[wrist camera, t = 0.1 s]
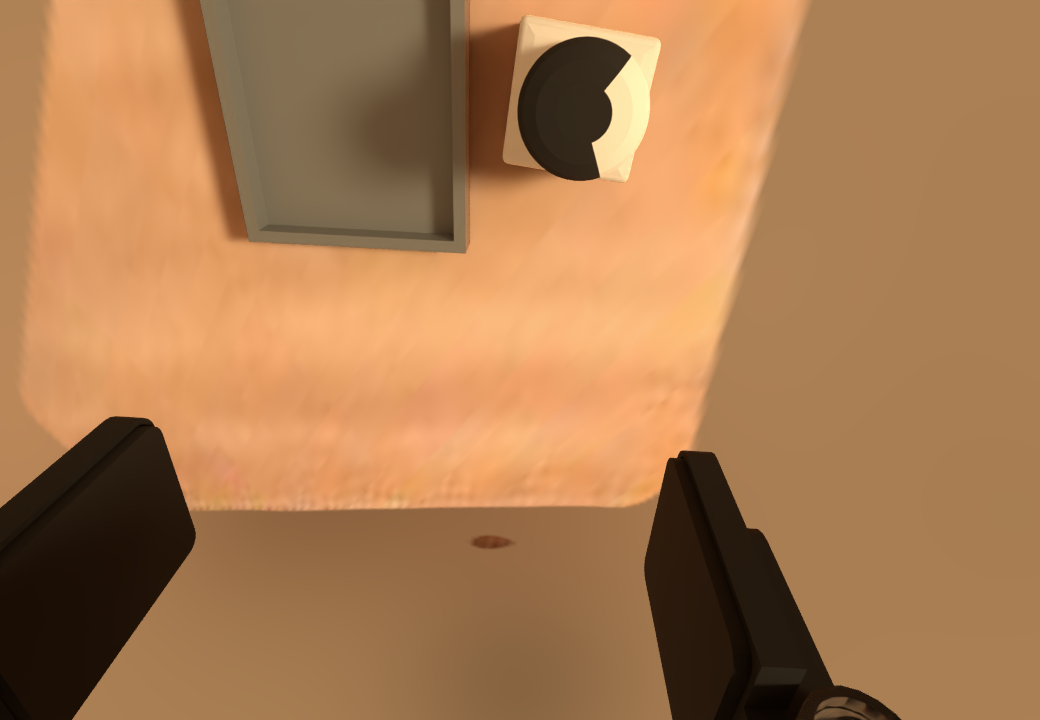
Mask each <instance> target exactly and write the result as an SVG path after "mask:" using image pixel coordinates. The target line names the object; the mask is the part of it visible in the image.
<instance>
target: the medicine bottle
mask: <svg viewBox="0 0 1040 720" xmlns="http://www.w3.org/2000/svg"><path fill="white" fill-rule="evenodd" d="M660 48H661V43H660V41H659V39H657V38H655V37H650V36H644V35H639V34H633V33H628V32H622V31H617V30H611V29H606V28H600V27H595V26H589V25H584V24H578V23H573V22H568V21H562V20H557V19H551V18H546V17H540V16H535V15H524V16H523V17H522V19H521V21H520V28H519V35H518V43H517V50H516V58H515V65H514V73H513V80H512V88H511V96H510V103H509V111H508V118H507V126H506V133H505V141H504V148H503V160H504V162H505V163H507V164H512V165H518V166H524V167H529V168H535V169H541V170H547V171H548V172H550V173H551V174H553V175H556V176H558V177H561V178H564V179H568V180H574V181H586V180H593V179H600V180H606V181H612V182H618V183H624V182H625V181H627V179H628V177H629V174H630V169H631V165H632V161H633V157H634V153H635V150H636V149H637V147H638V146H639V144H640V142H641V141H642V138H643V136H644V133H645V131H646V127H647V124H648V119H649V113H650V98H649V92H650V88H651V84H652V80H653V76H654V72H655V68H656V64H657V60H658V56H659V52H660Z"/></svg>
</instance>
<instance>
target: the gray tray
mask: <svg viewBox="0 0 1040 720" xmlns="http://www.w3.org/2000/svg"><path fill="white" fill-rule="evenodd" d="M200 5H201V9H202V14H203V19H204V24H205V29H206V34H207V39H208V44H209V49H210V53H211V58H212V63H213V68H214V73H215V78H216V83H217V88H218V92H219V97H220V102H221V107H222V112H223V117H224V122H225V127H226V132H227V136H228V141H229V146H230V151H231V156H232V161H233V166H234V171H235V175H236V180H237V185H238V190H239V195H240V200H241V205H242V210H243V215H244V219H245V224H246V229H247V234H248V239H249V242H266V243H284V244H302V245H321V246H339V247H357V248H375V249H393V250H411V251H430V252H448V253H466V251H467V249H468V246H469V243H470V0H200Z"/></svg>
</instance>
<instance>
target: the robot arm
mask: <svg viewBox="0 0 1040 720" xmlns="http://www.w3.org/2000/svg"><path fill="white" fill-rule="evenodd" d="M195 535H196V532H195V528H194V525H193V522H192V519H191V516H190V513H189V510H188V507H187V504H186V502H185V499H184V496H183V493H182V490H181V487H180V484H179V481H178V478H177V475H176V472H175V469H174V466H173V463H172V460H171V457H170V454H169V451H168V448H167V445H166V443H165V440H164V437H163V434H162V432H161V430H160V429H159V428H158V427H155V426H154V424H153V422H151V421H150V420H149V419H146V418H135V417H118V416H115V417H110V418H108V419H106V420H105V421H103V422H102V423H101V424H100V425H99V426H98V427H96V428H95V429H94V430H93V431H92V432H90V433H89V434H88V435H87V436H86V437H84V438H83V439H82V440H81V441H80V442H78V443H77V444H76V445H75V446H74V447H73V448H71V449H70V450H69V451H68V452H67V453H65V454H64V455H63V456H62V457H61V458H59V459H58V460H57V461H56V462H55V463H53V464H52V465H51V466H50V467H49V468H48V469H46V470H45V471H44V472H43V473H42V474H40V475H39V476H38V477H37V478H36V479H35V480H33V481H32V482H31V483H30V484H28V485H27V486H26V487H25V488H24V489H23V490H21V491H20V492H19V493H18V494H17V495H15V496H14V497H13V498H12V499H11V500H9V501H8V502H7V503H6V504H5V505H3V506H2V507H1V508H0V720H72V719H73V717H74V716H75V715H76V713H77V712H78V710H79V709H80V707H81V706H82V705H83V703H84V702H85V700H86V699H87V698H88V696H89V695H90V693H91V692H92V690H93V689H94V688H95V686H96V685H97V683H98V682H99V681H100V679H101V678H102V676H103V675H104V673H105V672H106V670H107V669H108V668H109V666H110V665H111V663H112V662H113V661H114V659H115V658H116V656H117V655H118V653H119V652H120V651H121V649H122V647H123V646H124V645H125V643H126V642H127V641H128V639H129V638H130V637H131V635H132V634H133V632H134V631H135V629H136V628H137V627H138V625H139V624H140V622H141V621H142V620H143V618H144V617H145V615H146V614H147V613H148V611H149V610H150V608H151V607H152V605H153V604H154V603H155V601H156V600H157V598H158V597H159V595H160V594H161V592H162V591H163V590H164V588H165V587H166V586H167V584H168V583H169V581H170V580H171V578H172V577H173V576H174V574H175V573H176V571H177V570H178V569H179V567H180V566H181V564H182V563H183V561H184V560H185V559H186V557H187V556H188V554H189V553H190V551H191V550H192V548H193V545H194V542H195V538H196V536H195ZM644 565H645V566H644V571H645V580H646V586H647V591H648V596H649V601H650V606H651V611H652V617H653V622H654V627H655V631H656V637H657V642H658V647H659V652H660V657H661V663H662V668H663V673H664V678H665V683H666V688H667V694H668V698H669V703H670V709H671V714H672V719H673V720H901V719H900V718H899V717H898V715H897V714H895V713H894V712H893V711H892V710H890V709H889V708H888V707H886V706H885V705H884V704H882V703H881V702H880V701H879V700H877V699H875V698H873V697H871V696H869V695H867V694H865V693H863V692H861V691H859V690H856V689H852V688H849V687H845V686H841V685H836V686H834V685H833V683H832V680H831V678H830V676H829V674H828V672H827V670H826V667H825V666H824V663H823V661H822V659H821V657H820V654H819V652H818V650H817V648H816V646H815V644H814V641H813V639H812V637H811V635H810V633H809V631H808V628H807V626H806V624H805V622H804V620H803V617H802V616H801V613H800V611H799V609H798V607H797V604H796V602H795V600H794V598H793V596H792V594H791V592H790V589H789V587H788V585H787V583H786V581H785V579H784V576H783V574H782V572H781V570H780V568H779V565H778V563H777V561H776V559H775V557H774V554H773V553H772V550H771V548H770V546H769V544H768V542H767V540H766V538H765V536H764V535H763V533H762V532H760V531H759V530H758V529H749V528H746V525H745V523H744V520H743V518H742V516H741V513H740V511H739V509H738V507H737V504H736V502H735V499H734V497H733V495H732V492H731V490H730V488H729V485H728V483H727V481H726V478H725V476H724V474H723V471H722V469H721V467H720V464H719V462H718V460H717V458H716V456H715V454H714V453H712V452H699V451H680V453H679V454H678V457H677V458H669V460H668V462H667V465H666V470H665V474H664V478H663V483H662V487H661V491H660V496H659V500H658V505H657V509H656V513H655V517H654V522H653V526H652V531H651V535H650V540H649V544H648V548H647V552H646V557H645V564H644Z"/></svg>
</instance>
